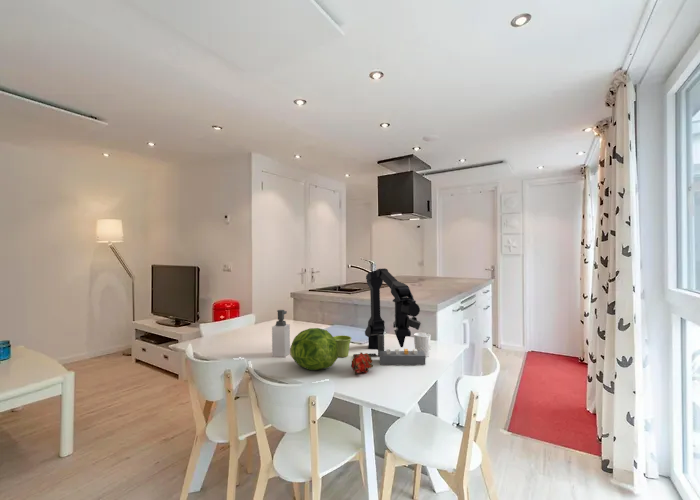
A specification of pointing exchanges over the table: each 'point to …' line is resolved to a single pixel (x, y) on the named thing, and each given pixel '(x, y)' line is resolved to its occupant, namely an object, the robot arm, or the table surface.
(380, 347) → the post
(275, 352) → the soap dispenser
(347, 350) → the plant pot
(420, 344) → the white cup
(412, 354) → the breaker strip
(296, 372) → the table surface
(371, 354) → the dark grey thin rod
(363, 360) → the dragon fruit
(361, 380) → the table surface
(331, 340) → the lettuce
